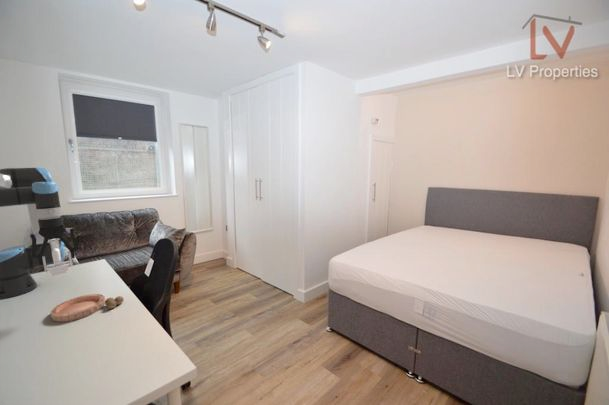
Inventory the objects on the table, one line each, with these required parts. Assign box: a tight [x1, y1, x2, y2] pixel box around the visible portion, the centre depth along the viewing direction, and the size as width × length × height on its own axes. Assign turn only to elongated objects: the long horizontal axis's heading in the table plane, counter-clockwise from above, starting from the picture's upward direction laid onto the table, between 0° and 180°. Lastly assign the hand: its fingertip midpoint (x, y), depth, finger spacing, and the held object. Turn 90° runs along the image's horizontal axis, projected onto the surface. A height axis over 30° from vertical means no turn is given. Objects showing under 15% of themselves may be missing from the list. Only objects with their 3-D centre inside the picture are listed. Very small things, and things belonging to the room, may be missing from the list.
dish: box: [50, 293, 106, 323], centre depth 116 cm, size 19×18×3 cm
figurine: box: [46, 238, 70, 276], centre depth 112 cm, size 7×9×15 cm
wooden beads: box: [104, 296, 124, 310], centre depth 119 cm, size 7×7×4 cm
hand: (59, 268), depth 113 cm, fingers closed on figurine, 7 cm apart
